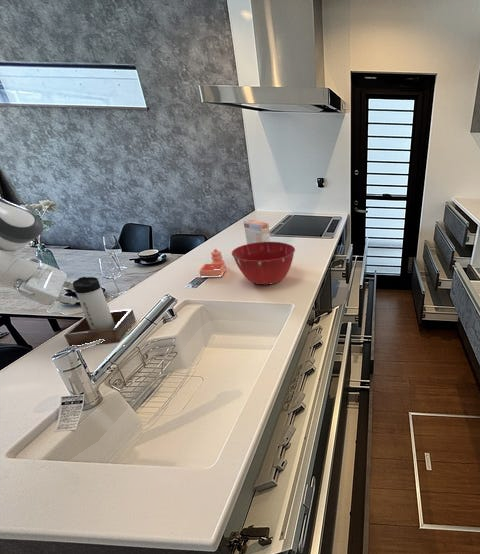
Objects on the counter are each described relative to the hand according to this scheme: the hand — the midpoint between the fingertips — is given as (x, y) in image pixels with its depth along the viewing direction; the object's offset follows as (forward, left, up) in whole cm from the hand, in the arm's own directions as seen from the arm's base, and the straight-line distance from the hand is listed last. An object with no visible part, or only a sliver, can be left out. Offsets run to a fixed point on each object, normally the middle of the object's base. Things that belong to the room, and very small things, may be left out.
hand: (78, 295), depth 98 cm
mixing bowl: (+56, +35, -15) cm, 68 cm away
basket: (+3, 0, -15) cm, 15 cm away
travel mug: (+3, 0, -15) cm, 15 cm away
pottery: (+30, +51, -15) cm, 61 cm away
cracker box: (+51, +68, -15) cm, 87 cm away
